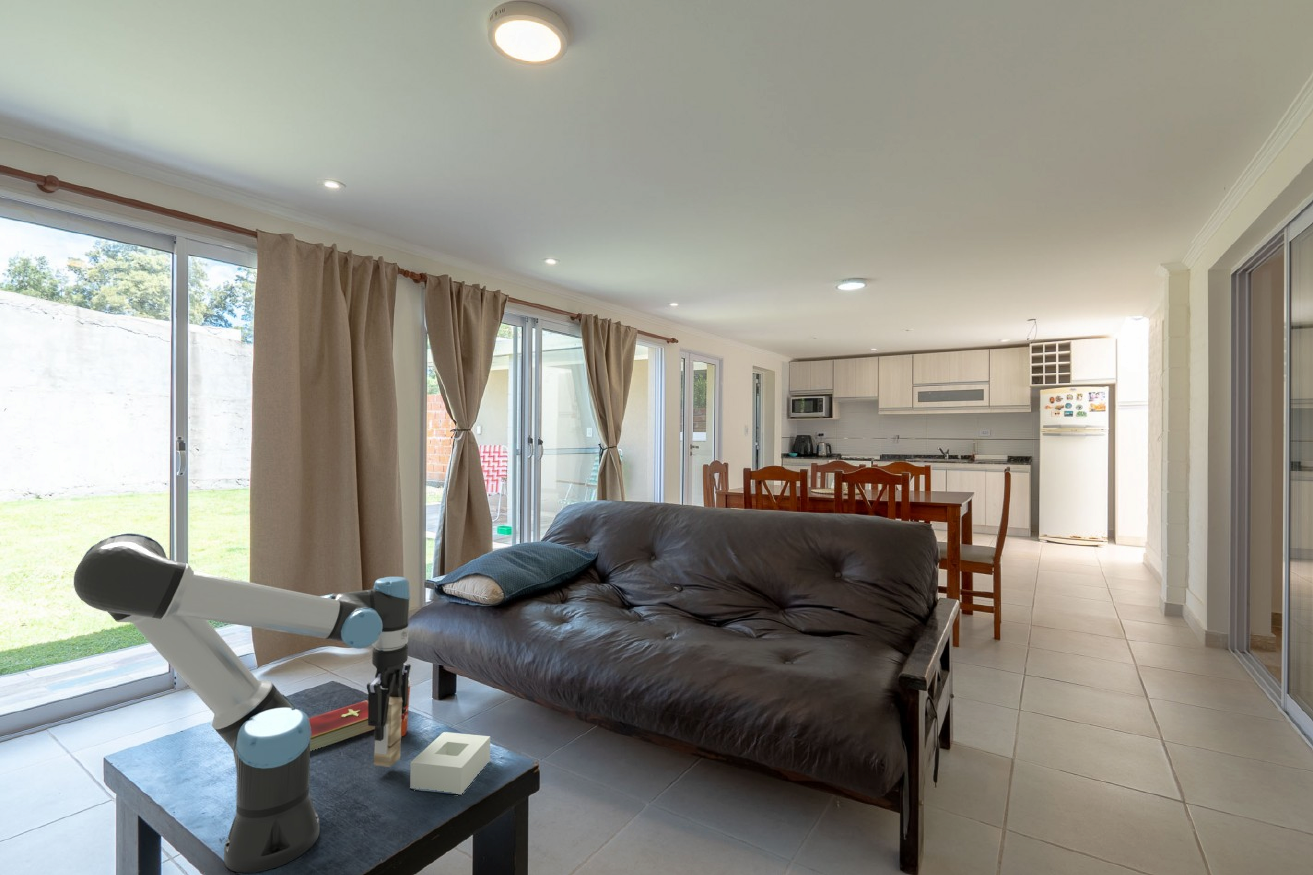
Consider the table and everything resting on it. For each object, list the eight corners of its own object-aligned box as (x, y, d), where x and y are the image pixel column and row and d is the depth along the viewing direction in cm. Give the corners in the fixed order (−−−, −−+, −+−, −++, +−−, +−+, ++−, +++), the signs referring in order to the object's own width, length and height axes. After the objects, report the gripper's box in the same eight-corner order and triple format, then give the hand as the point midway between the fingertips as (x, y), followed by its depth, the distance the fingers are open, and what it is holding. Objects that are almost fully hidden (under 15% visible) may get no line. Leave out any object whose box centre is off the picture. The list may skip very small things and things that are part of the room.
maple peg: (389, 766, 136) (391, 704, 137) (373, 764, 137) (375, 703, 137) (400, 757, 140) (402, 697, 141) (384, 755, 141) (386, 695, 141)
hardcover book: (281, 741, 153) (281, 724, 153) (366, 713, 169) (366, 698, 169) (298, 758, 145) (298, 740, 145) (385, 727, 161) (385, 711, 161)
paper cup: (403, 741, 152) (403, 686, 152) (373, 741, 152) (373, 685, 152) (416, 727, 160) (416, 674, 160) (387, 726, 160) (388, 673, 160)
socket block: (461, 795, 130) (461, 767, 130) (410, 789, 132) (410, 762, 132) (490, 761, 143) (490, 736, 143) (443, 756, 145) (443, 731, 145)
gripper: (382, 659, 130) (379, 768, 130) (425, 635, 147) (423, 732, 147) (351, 656, 131) (347, 765, 131) (397, 633, 148) (394, 728, 148)
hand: (387, 747), depth 139 cm, fingers closed on maple peg, 4 cm apart
